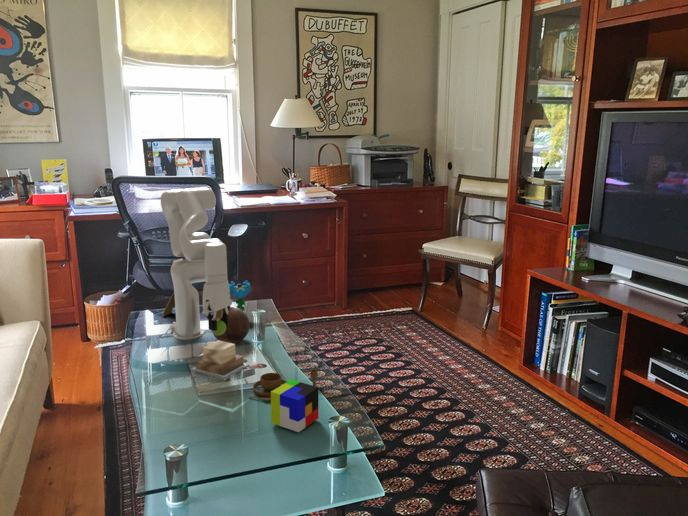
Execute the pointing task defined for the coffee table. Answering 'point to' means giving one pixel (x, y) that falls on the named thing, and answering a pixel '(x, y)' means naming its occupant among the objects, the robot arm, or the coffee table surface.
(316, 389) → the puzzle toy
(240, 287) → the toy flower
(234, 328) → the wooden sphere
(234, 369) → the blueprint board
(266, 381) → the place setting
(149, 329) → the coffee table surface
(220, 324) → the snail figurine
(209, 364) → the plinth
